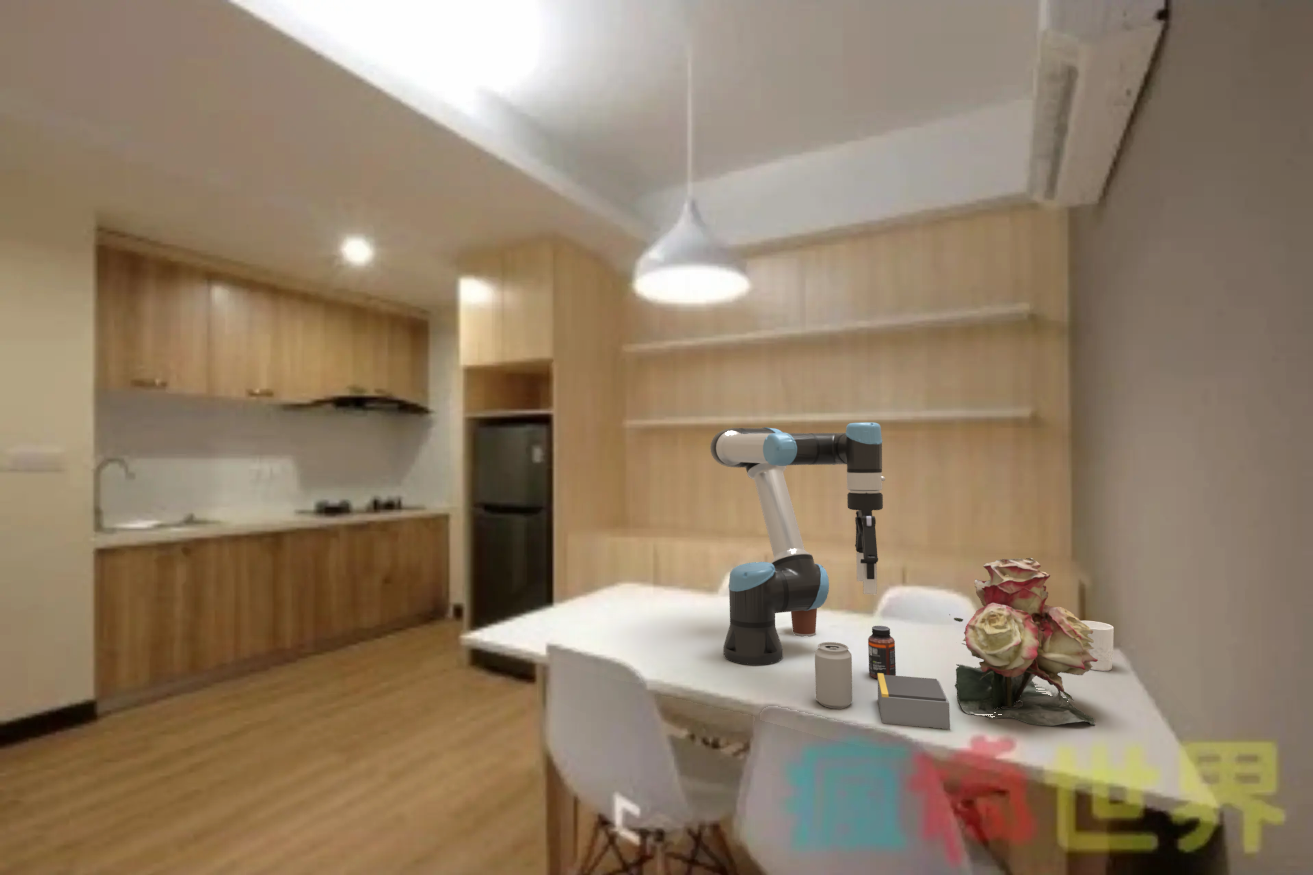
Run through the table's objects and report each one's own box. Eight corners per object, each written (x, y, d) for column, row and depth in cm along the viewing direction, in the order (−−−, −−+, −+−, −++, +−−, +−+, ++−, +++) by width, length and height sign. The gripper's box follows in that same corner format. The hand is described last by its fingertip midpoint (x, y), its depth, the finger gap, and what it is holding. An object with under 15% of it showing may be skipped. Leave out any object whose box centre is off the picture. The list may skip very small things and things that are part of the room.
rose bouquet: (962, 723, 123) (959, 567, 123) (949, 673, 150) (946, 546, 151) (1121, 742, 114) (1116, 574, 115) (1076, 686, 141) (1072, 550, 142)
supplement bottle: (895, 673, 150) (894, 625, 151) (896, 682, 145) (895, 632, 145) (868, 670, 152) (868, 623, 153) (868, 679, 147) (867, 629, 147)
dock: (882, 722, 123) (881, 693, 123) (877, 699, 135) (877, 672, 135) (949, 729, 120) (949, 699, 120) (939, 704, 131) (938, 677, 132)
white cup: (1117, 665, 154) (1116, 624, 154) (1112, 674, 148) (1110, 631, 148) (1078, 658, 159) (1077, 618, 160) (1072, 666, 154) (1071, 625, 154)
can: (848, 696, 136) (847, 640, 137) (856, 710, 129) (855, 651, 129) (813, 695, 137) (812, 639, 138) (818, 709, 130) (817, 650, 130)
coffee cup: (787, 628, 190) (786, 588, 190) (818, 629, 188) (817, 588, 189) (789, 637, 181) (788, 594, 181) (822, 638, 179) (821, 595, 180)
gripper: (891, 495, 129) (893, 600, 129) (875, 488, 153) (876, 576, 153) (852, 495, 131) (854, 599, 130) (842, 488, 155) (844, 575, 155)
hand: (866, 587), depth 142 cm, fingers open, 13 cm apart
